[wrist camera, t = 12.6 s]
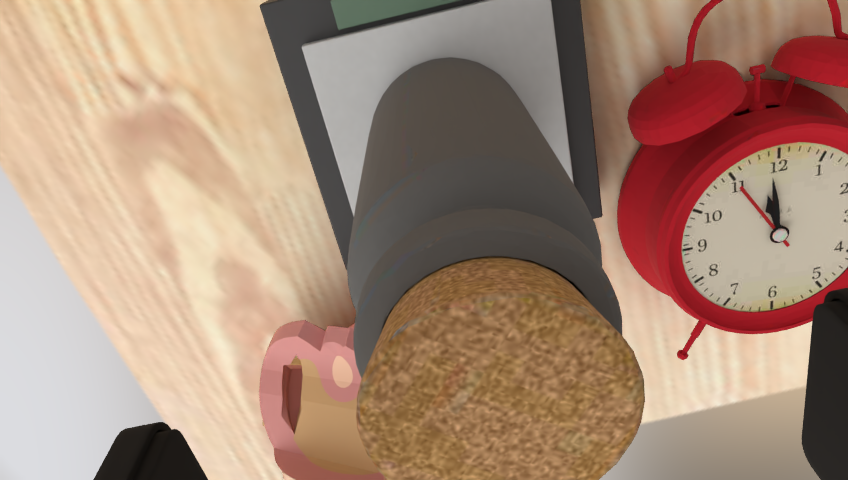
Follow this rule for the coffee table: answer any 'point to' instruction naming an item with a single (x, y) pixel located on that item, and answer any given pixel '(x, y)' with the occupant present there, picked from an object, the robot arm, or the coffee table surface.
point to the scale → (416, 43)
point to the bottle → (481, 294)
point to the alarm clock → (741, 187)
